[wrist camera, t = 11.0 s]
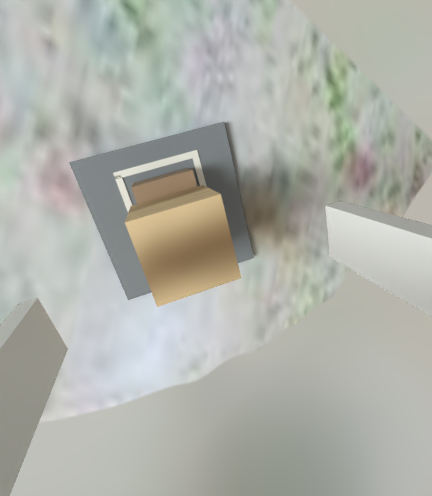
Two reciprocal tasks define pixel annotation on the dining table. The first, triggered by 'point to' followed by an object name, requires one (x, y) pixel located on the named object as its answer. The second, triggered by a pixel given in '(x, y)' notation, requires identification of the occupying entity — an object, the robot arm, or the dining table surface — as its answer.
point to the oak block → (183, 243)
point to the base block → (163, 185)
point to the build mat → (148, 166)
